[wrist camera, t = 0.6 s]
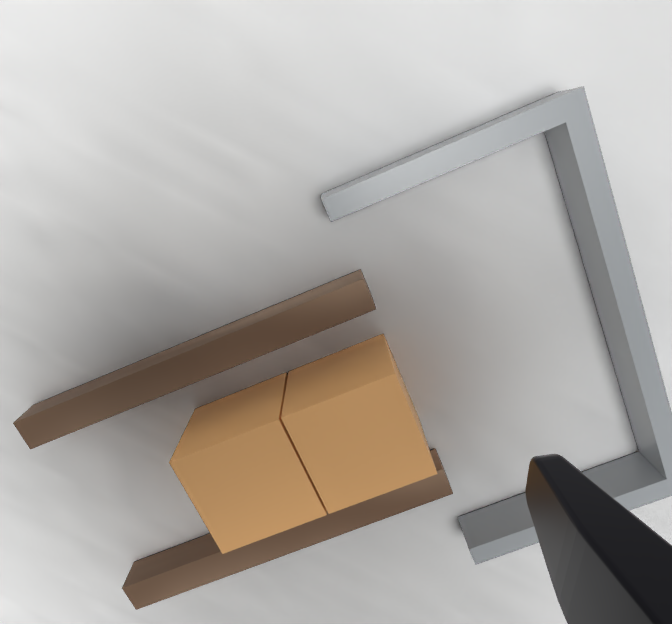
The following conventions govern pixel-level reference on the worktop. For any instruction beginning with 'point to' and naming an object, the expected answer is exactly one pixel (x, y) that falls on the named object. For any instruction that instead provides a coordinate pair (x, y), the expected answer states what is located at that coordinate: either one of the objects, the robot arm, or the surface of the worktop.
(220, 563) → the slot guide
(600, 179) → the tray
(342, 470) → the block
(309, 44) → the worktop surface
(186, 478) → the block
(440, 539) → the worktop surface
